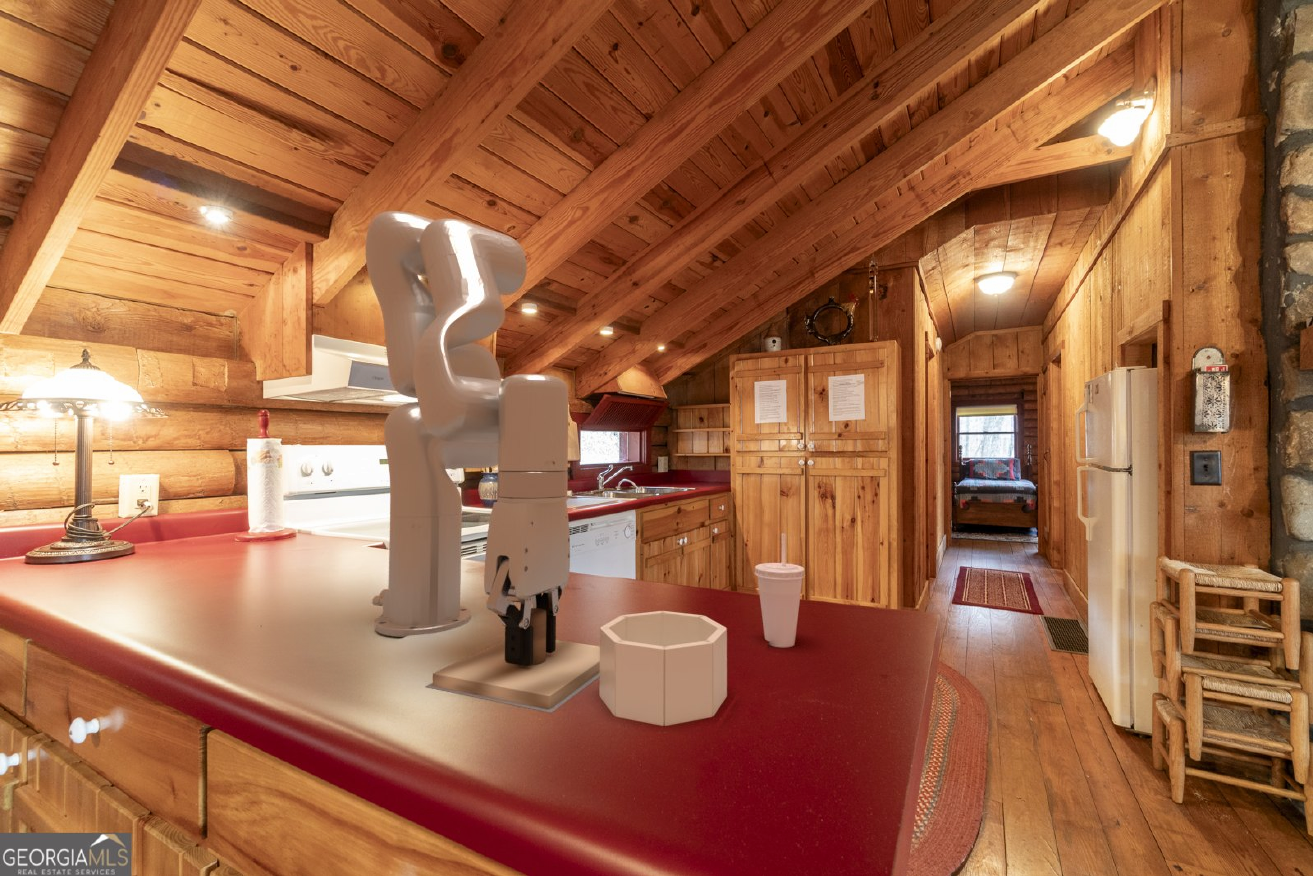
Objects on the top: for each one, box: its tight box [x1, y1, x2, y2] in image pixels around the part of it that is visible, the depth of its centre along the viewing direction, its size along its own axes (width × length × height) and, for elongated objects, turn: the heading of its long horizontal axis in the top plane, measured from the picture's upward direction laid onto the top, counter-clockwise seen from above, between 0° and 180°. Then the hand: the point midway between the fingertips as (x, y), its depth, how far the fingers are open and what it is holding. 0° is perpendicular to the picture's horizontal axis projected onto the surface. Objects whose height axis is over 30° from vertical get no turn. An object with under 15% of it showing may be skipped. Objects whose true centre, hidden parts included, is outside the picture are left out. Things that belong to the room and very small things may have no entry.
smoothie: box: [754, 533, 806, 648], centre depth 72 cm, size 6×6×14 cm
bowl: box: [598, 610, 728, 727], centre depth 55 cm, size 12×12×7 cm
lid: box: [432, 607, 600, 709], centre depth 61 cm, size 14×14×6 cm
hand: (530, 655), depth 61 cm, fingers open, 3 cm apart
